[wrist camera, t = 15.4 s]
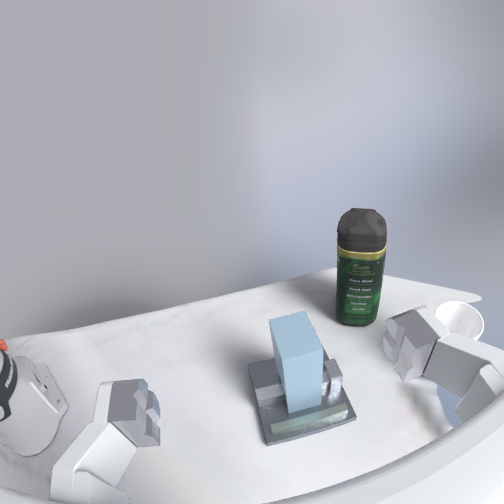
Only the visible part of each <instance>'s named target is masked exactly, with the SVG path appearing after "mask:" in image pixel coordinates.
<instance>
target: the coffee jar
mask: <svg viewBox="0 0 504 504" xmlns="http://www.w3.org/2000/svg"><path fill="white" fill-rule="evenodd" d="M337 232H338V238H337V293H336V317H337V319H338V320H339V321H340V322H342V323H345V324H348V325H352V326H364V325H369V324H371V323H372V322H374V320H375V319H376V316H377V312H378V306H379V300H380V294H381V287H382V280H383V273H384V265H385V255H386V241H387V239H386V238H387V236H386V235H387V229H386V222H385V219H384V218H383V217H382V216H381V215H380V214H379V213H377V212H376V211H375V210H373V209H360V208H359V209H358V208H352V209H351V210H349V211H348V212H346V213H345V214H343V215H342V217H341V219H340V221H339V224H338V228H337Z"/></svg>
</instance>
